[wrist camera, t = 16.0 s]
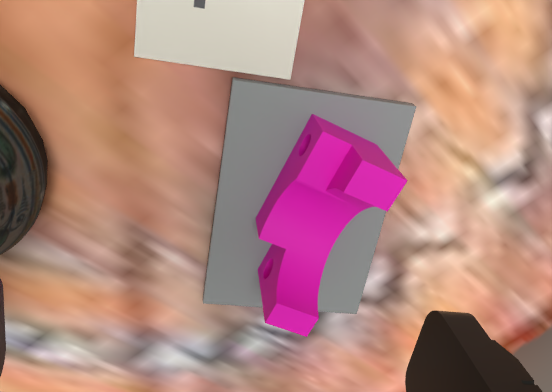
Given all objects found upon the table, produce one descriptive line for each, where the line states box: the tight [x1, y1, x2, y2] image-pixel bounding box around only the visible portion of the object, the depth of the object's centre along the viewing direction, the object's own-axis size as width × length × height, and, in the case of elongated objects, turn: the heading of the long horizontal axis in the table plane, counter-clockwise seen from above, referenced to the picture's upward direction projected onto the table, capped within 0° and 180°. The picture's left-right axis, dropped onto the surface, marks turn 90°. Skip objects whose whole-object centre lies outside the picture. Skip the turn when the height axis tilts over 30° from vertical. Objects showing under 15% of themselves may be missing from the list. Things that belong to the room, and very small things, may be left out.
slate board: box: [203, 77, 416, 314], centre depth 45 cm, size 15×21×1 cm
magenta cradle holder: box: [256, 114, 407, 337], centre depth 41 cm, size 15×6×8 cm, turn 153°
